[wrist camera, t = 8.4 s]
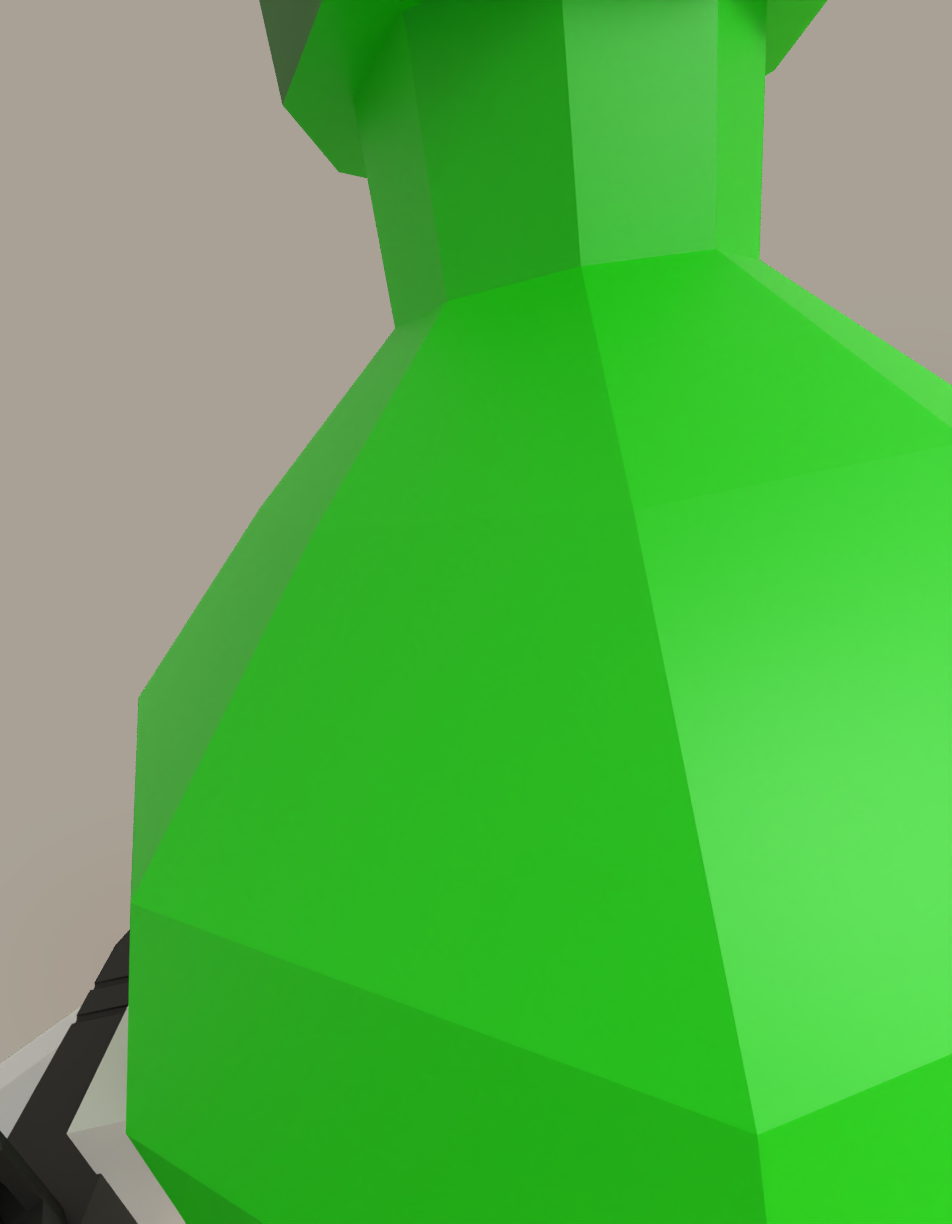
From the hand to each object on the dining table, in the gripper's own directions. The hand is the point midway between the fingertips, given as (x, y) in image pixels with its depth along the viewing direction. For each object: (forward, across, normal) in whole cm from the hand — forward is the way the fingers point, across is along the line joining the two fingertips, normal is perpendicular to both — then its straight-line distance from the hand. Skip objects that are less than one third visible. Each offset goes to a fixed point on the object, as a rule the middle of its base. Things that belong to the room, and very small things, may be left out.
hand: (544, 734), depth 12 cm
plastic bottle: (-4, 0, -14) cm, 15 cm away
